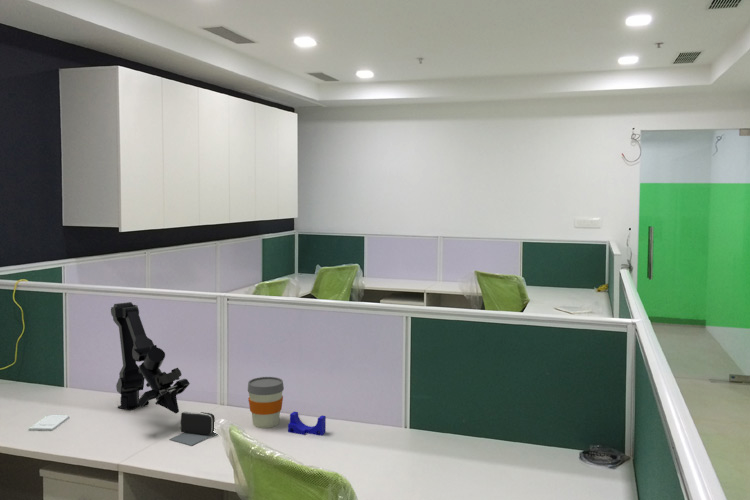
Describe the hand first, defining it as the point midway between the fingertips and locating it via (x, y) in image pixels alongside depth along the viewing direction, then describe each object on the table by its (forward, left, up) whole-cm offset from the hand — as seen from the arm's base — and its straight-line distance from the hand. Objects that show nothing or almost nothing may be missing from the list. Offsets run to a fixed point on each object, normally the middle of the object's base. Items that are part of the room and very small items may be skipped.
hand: (177, 412), depth 224 cm
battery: (0, +2, -3) cm, 3 cm away
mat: (+1, +8, -7) cm, 11 cm away
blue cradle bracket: (-15, +42, -7) cm, 45 cm away
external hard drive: (+10, -46, -7) cm, 47 cm away
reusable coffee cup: (-17, +24, -7) cm, 31 cm away
